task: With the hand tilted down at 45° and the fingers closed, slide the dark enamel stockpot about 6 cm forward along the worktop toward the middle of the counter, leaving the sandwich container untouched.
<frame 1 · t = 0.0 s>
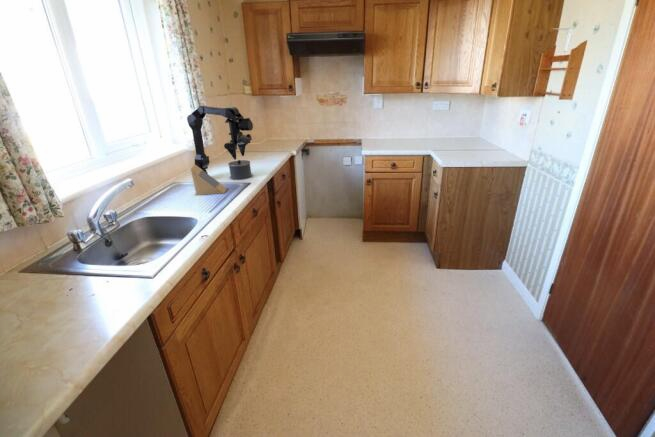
hand: (239, 157, 190), 15 cm above the counter, tool pointing down, fingers open, 9 cm apart
sandwich container: (212, 191, 180), on the counter
stockpot: (241, 176, 206), on the counter
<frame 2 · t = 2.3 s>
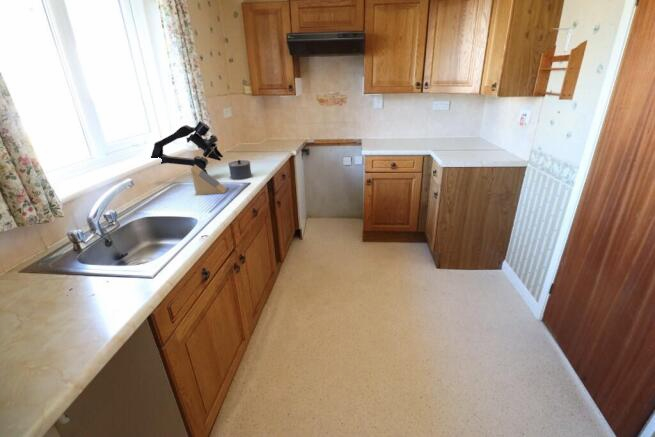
hand: (221, 158, 200), 13 cm above the counter, tool tilted 45°, fingers open, 8 cm apart
nothing on the counter moved.
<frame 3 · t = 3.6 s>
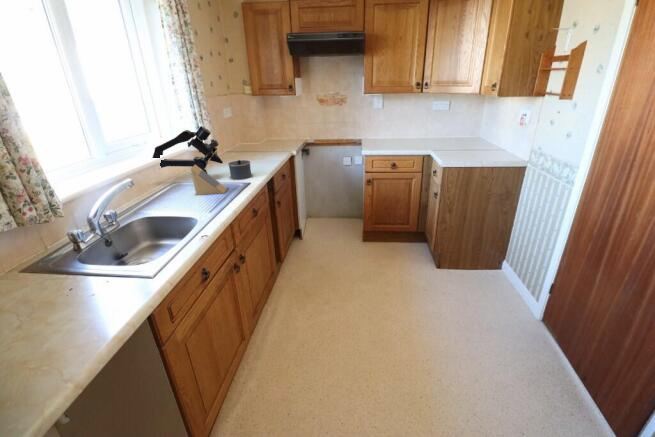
hand: (222, 162, 201), 10 cm above the counter, tool tilted 45°, fingers closed
nothing on the counter moved.
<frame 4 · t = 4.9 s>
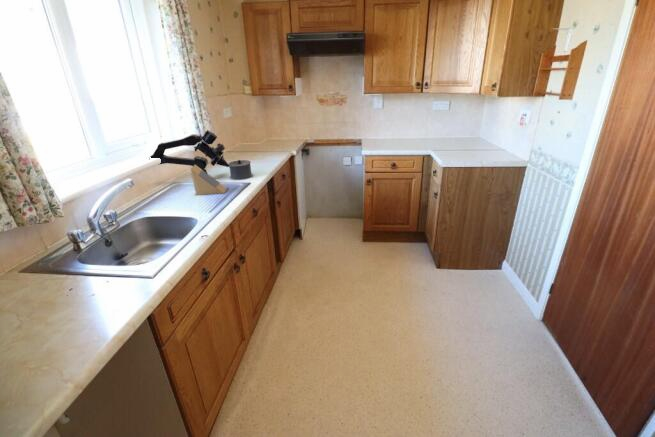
hand: (228, 166, 202), 7 cm above the counter, tool tilted 45°, fingers closed, pressing on stockpot
stockpot: (241, 176, 206), on the counter, touching gripper
everything else where it was.
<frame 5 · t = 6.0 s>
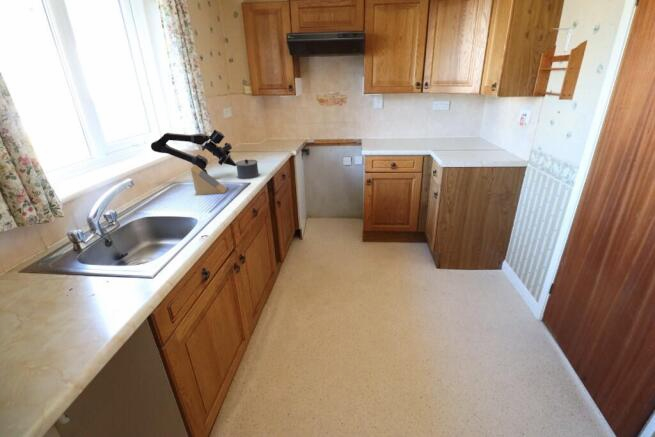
hand: (236, 165, 203), 7 cm above the counter, tool tilted 45°, fingers closed, pressing on stockpot
stockpot: (248, 175, 207), on the counter, touching gripper
everything else where it was.
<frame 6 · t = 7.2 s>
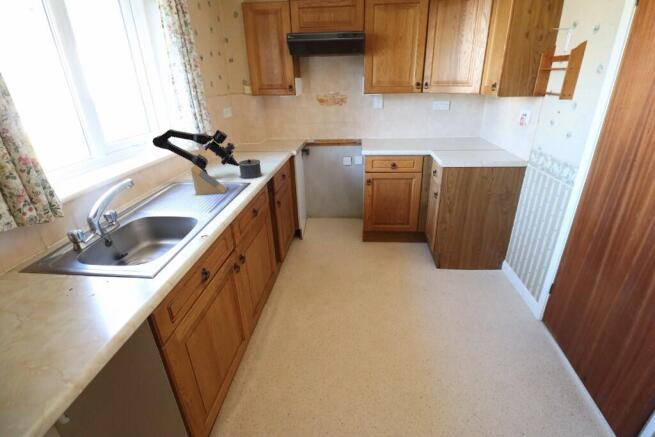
hand: (238, 165, 203), 7 cm above the counter, tool tilted 45°, fingers closed
stockpot: (251, 175, 207), on the counter
everything else where it was.
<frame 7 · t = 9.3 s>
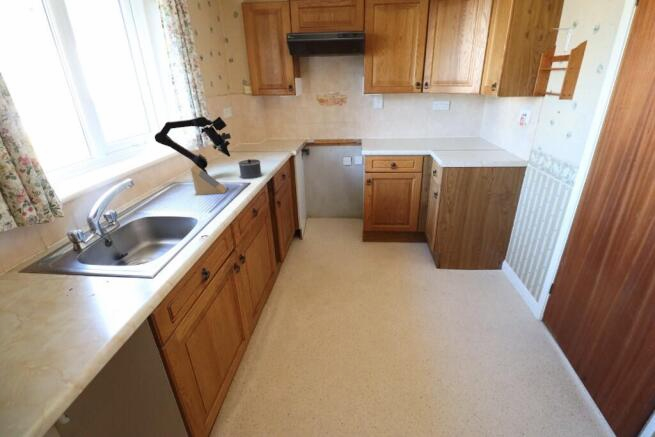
hand: (229, 156, 203), 13 cm above the counter, tool tilted 30°, fingers closed
nothing on the counter moved.
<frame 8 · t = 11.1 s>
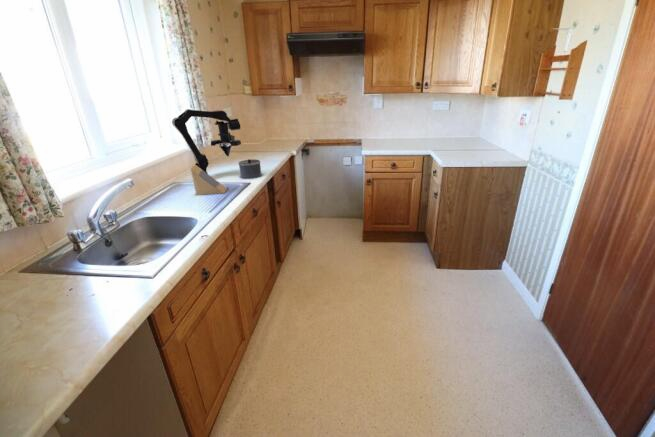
hand: (228, 156, 207), 12 cm above the counter, tool pointing down, fingers closed
nothing on the counter moved.
at the end: stockpot 0.3 cm from the target spot, on the counter; stockpot tilted 0°; sandwich container moved 0.2 cm from its start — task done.
